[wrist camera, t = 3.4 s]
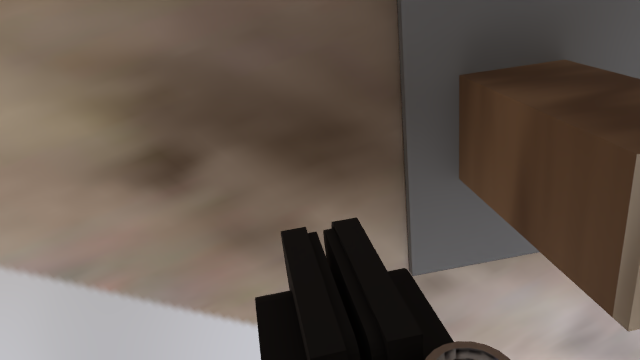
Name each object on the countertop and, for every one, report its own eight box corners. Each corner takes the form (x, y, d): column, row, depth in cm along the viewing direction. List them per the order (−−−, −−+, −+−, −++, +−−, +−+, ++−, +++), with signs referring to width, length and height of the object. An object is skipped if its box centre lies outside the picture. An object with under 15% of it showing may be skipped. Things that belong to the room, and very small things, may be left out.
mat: (777, -88, 18) (789, -89, 17) (710, 214, 23) (718, 218, 22) (395, -42, 16) (399, -43, 16) (409, 270, 21) (412, 275, 21)
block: (564, 59, 18) (840, 130, 10) (556, 162, 20) (788, 297, 12) (459, 74, 18) (656, 163, 10) (459, 178, 19) (628, 331, 11)
